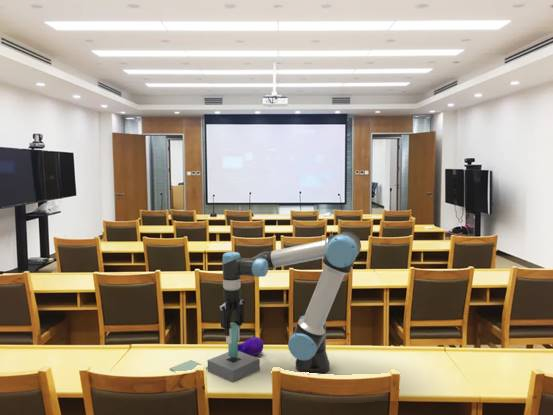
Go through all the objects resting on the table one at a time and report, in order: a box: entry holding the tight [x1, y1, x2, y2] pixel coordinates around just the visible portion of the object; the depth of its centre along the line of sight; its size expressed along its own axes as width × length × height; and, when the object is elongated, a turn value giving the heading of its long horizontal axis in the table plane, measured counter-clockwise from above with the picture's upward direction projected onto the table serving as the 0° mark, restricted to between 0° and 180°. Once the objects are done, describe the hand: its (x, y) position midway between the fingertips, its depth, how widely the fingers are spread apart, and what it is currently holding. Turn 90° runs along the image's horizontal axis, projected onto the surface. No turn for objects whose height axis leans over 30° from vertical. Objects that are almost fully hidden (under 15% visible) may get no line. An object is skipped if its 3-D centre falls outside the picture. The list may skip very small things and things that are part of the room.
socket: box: [207, 351, 261, 383], centre depth 205 cm, size 16×16×5 cm
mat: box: [169, 359, 208, 372], centre depth 207 cm, size 12×12×1 cm
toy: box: [238, 336, 264, 357], centre depth 222 cm, size 9×10×15 cm
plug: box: [227, 322, 239, 357], centre depth 204 cm, size 4×4×14 cm
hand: (232, 341), depth 204 cm, fingers closed on plug, 4 cm apart
